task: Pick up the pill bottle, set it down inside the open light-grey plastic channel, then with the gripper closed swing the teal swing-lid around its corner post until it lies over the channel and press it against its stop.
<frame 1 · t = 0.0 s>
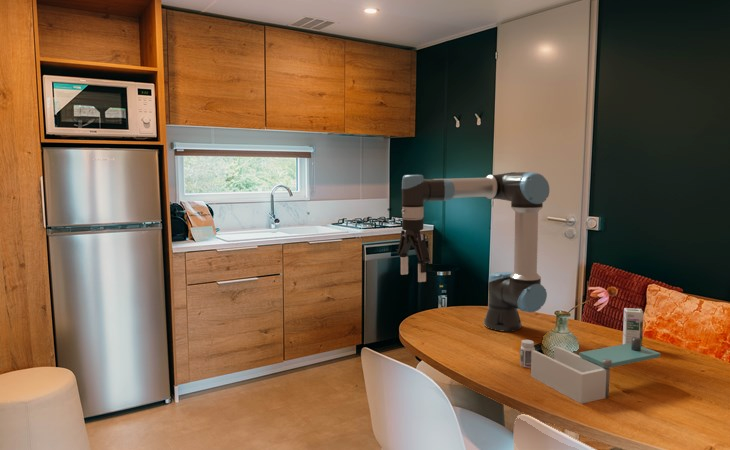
hand: (412, 277, 185), 28 cm above the table, fingers open, 13 cm apart
grey planter box: (566, 385, 159), on the table
pill bottle: (527, 365, 176), on the table
lid: (620, 349, 158), point 11 cm above the table, hinge at -90.0°
syrup box: (631, 348, 191), on the table
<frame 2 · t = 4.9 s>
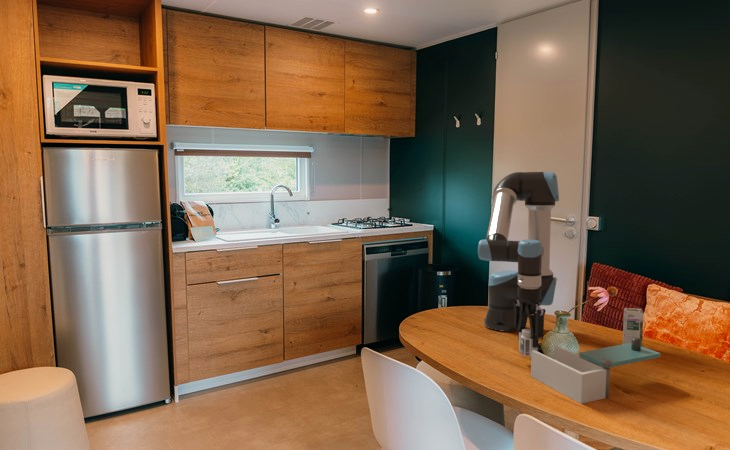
hand: (527, 353, 176), 4 cm above the table, fingers closed on pill bottle, 5 cm apart
pill bottle: (527, 354, 176), point 3 cm above the table, touching gripper
everything else where it was.
when the fingers open (1 cm above the table, at t = 9.1 s): pill bottle stays where it is, resting in grey planter box.
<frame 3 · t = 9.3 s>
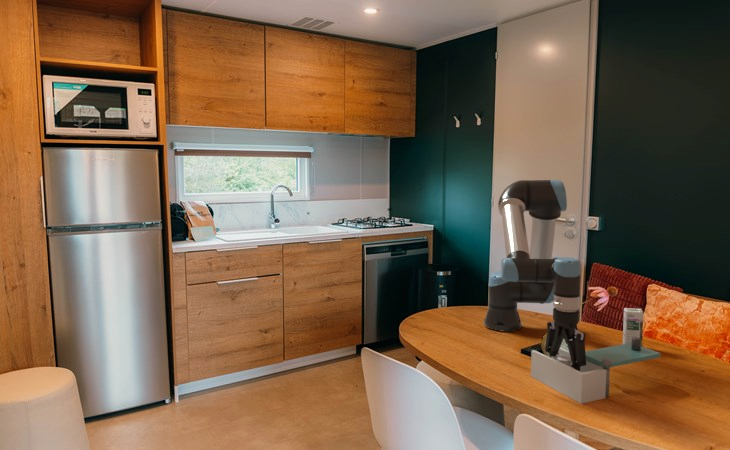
hand: (564, 380, 160), 1 cm above the table, fingers open, 7 cm apart
pill bottle: (563, 385, 160), resting in grey planter box
everything else where it was.
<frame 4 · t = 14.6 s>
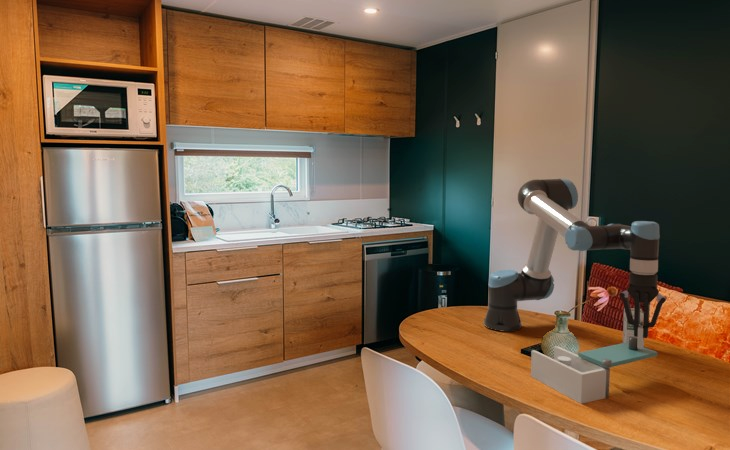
hand: (640, 347, 160), 11 cm above the table, fingers closed
lid: (618, 349, 158), point 11 cm above the table, hinge at -87.2°, touching gripper
everything else where it was.
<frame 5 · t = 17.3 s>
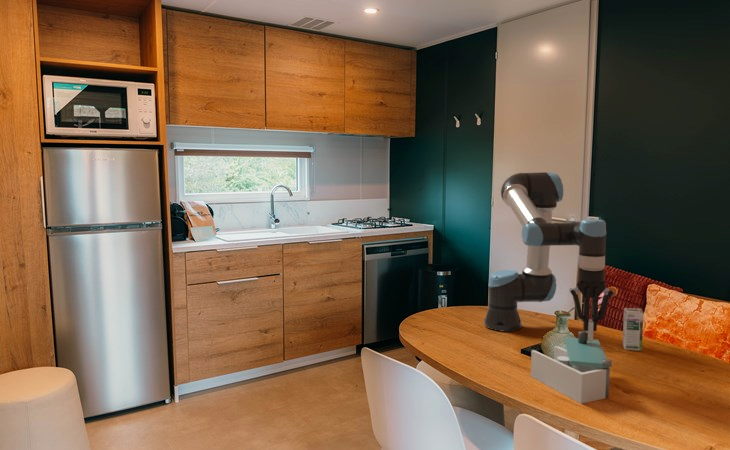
hand: (589, 340, 167), 11 cm above the table, fingers closed
lid: (586, 346, 161), point 11 cm above the table, hinge at -38.4°, touching gripper
everything else where it was.
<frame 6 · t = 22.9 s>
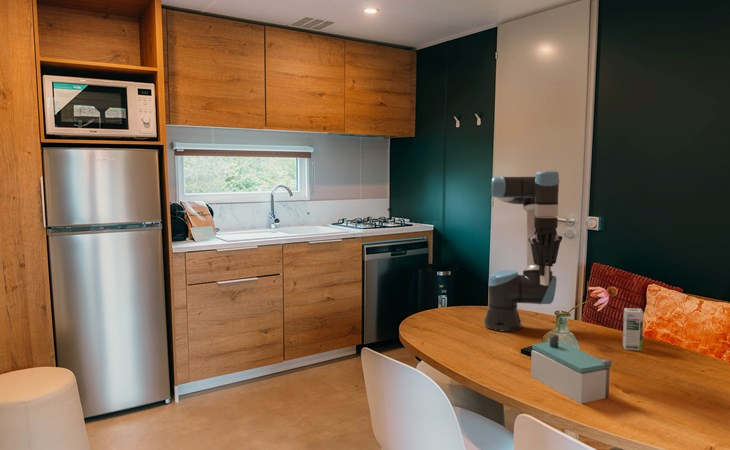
hand: (544, 284, 179), 26 cm above the table, fingers closed
lid: (570, 350, 158), point 11 cm above the table, hinge at -2.5°
everything else where it was.
at the end: pill bottle inside the target area (1.0 cm from its centre), resting in grey planter box; lid at -2° (first picture: -90°); lid touching nothing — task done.
